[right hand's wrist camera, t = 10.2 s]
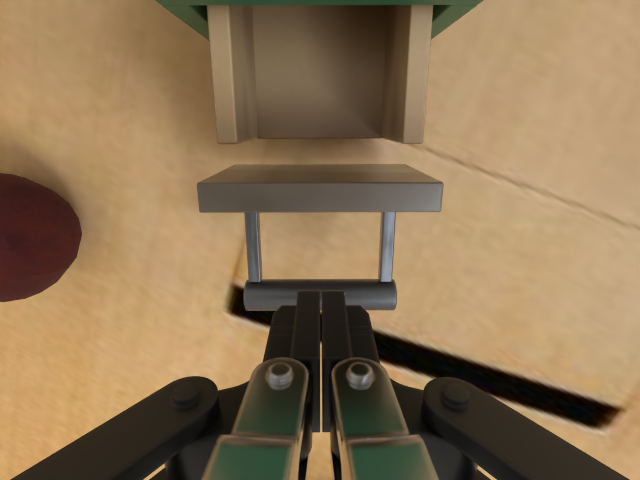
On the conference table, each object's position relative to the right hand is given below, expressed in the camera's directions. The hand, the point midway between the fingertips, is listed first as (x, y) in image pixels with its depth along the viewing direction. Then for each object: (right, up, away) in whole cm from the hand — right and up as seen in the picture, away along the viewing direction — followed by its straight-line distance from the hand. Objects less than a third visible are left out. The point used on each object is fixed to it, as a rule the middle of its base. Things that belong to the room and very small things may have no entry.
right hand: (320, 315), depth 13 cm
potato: (-18, +4, +12) cm, 22 cm away
